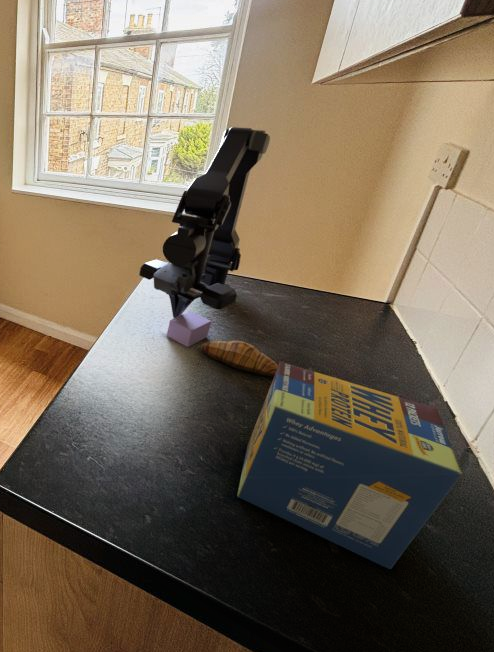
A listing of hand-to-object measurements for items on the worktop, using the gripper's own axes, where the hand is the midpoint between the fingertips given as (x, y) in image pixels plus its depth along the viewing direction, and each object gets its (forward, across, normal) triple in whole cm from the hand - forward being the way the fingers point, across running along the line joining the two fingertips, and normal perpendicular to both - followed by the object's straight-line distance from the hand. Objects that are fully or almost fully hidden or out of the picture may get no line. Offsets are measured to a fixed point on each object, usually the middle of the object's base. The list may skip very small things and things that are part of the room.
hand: (176, 317), depth 87 cm
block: (+3, +3, 0) cm, 4 cm away
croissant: (+3, +14, -1) cm, 15 cm away
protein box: (+3, +35, -22) cm, 41 cm away
